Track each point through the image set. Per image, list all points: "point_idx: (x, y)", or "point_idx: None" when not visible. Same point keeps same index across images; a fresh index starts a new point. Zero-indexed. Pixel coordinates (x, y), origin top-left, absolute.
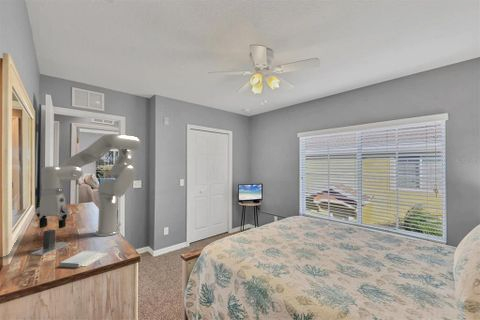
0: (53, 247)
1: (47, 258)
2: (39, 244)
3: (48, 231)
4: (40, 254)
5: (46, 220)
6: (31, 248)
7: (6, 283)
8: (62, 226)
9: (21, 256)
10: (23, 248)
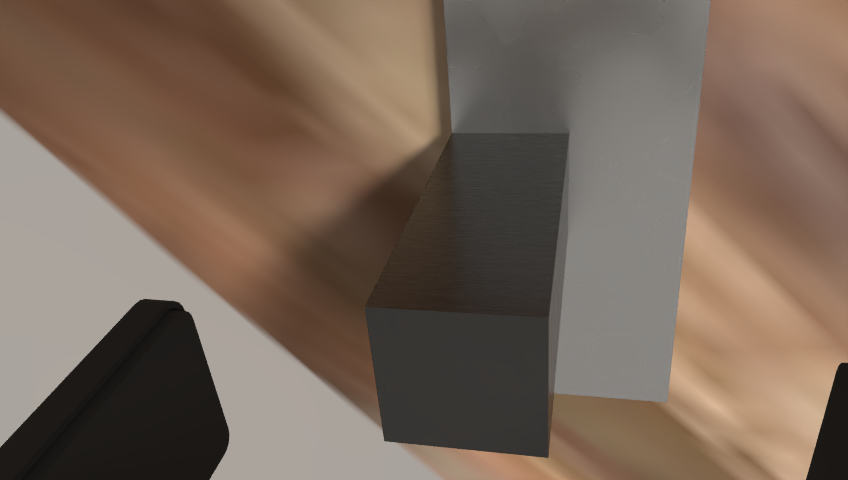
0: (600, 186)
1: None
2: (157, 20)
3: (515, 452)
4: (620, 388)
5: (78, 456)
6: (242, 190)
7: None
8: None
9: None
10: (142, 201)
